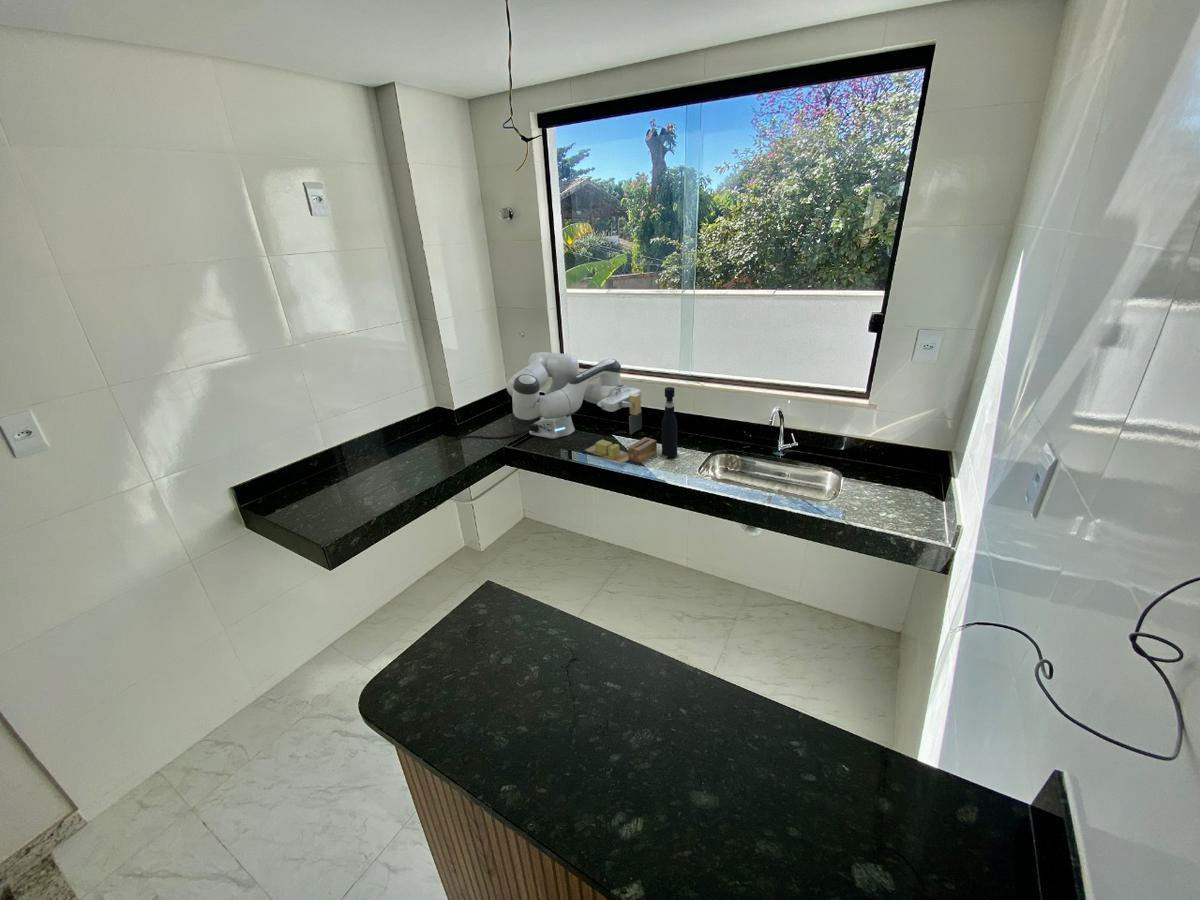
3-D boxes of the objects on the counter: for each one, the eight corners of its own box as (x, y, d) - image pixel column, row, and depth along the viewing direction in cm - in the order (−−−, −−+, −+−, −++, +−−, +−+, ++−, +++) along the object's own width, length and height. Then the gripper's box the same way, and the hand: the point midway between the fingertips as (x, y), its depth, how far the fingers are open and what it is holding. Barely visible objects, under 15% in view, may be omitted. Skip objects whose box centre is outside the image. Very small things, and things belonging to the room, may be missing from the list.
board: (584, 452, 215) (584, 450, 215) (597, 445, 221) (597, 442, 220) (622, 465, 201) (622, 463, 201) (635, 457, 207) (635, 455, 207)
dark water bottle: (659, 454, 208) (658, 388, 195) (671, 450, 211) (671, 384, 198) (667, 460, 203) (667, 392, 190) (680, 456, 206) (680, 389, 192)
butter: (595, 451, 213) (595, 442, 211) (602, 447, 216) (602, 439, 214) (605, 454, 209) (605, 446, 207) (612, 450, 212) (612, 442, 210)
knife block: (628, 461, 204) (627, 446, 201) (645, 451, 212) (645, 437, 209) (639, 465, 201) (639, 450, 197) (656, 455, 208) (656, 440, 205)
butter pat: (608, 455, 208) (608, 447, 206) (615, 451, 211) (615, 443, 209) (613, 457, 207) (612, 448, 205) (619, 453, 209) (619, 444, 208)
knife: (626, 433, 200) (625, 397, 193) (638, 427, 206) (637, 391, 199) (633, 435, 198) (631, 398, 191) (644, 428, 204) (643, 392, 197)
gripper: (593, 397, 196) (620, 403, 188) (625, 383, 210) (651, 388, 201) (594, 411, 199) (620, 418, 191) (626, 397, 212) (651, 403, 204)
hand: (636, 403), depth 196 cm, fingers closed on knife, 3 cm apart
